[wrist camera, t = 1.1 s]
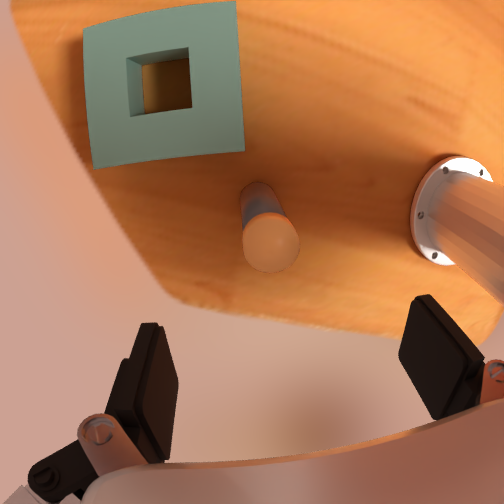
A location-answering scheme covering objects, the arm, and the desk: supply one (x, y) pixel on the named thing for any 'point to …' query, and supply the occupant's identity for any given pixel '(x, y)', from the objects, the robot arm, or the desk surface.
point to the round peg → (266, 230)
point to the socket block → (131, 87)
